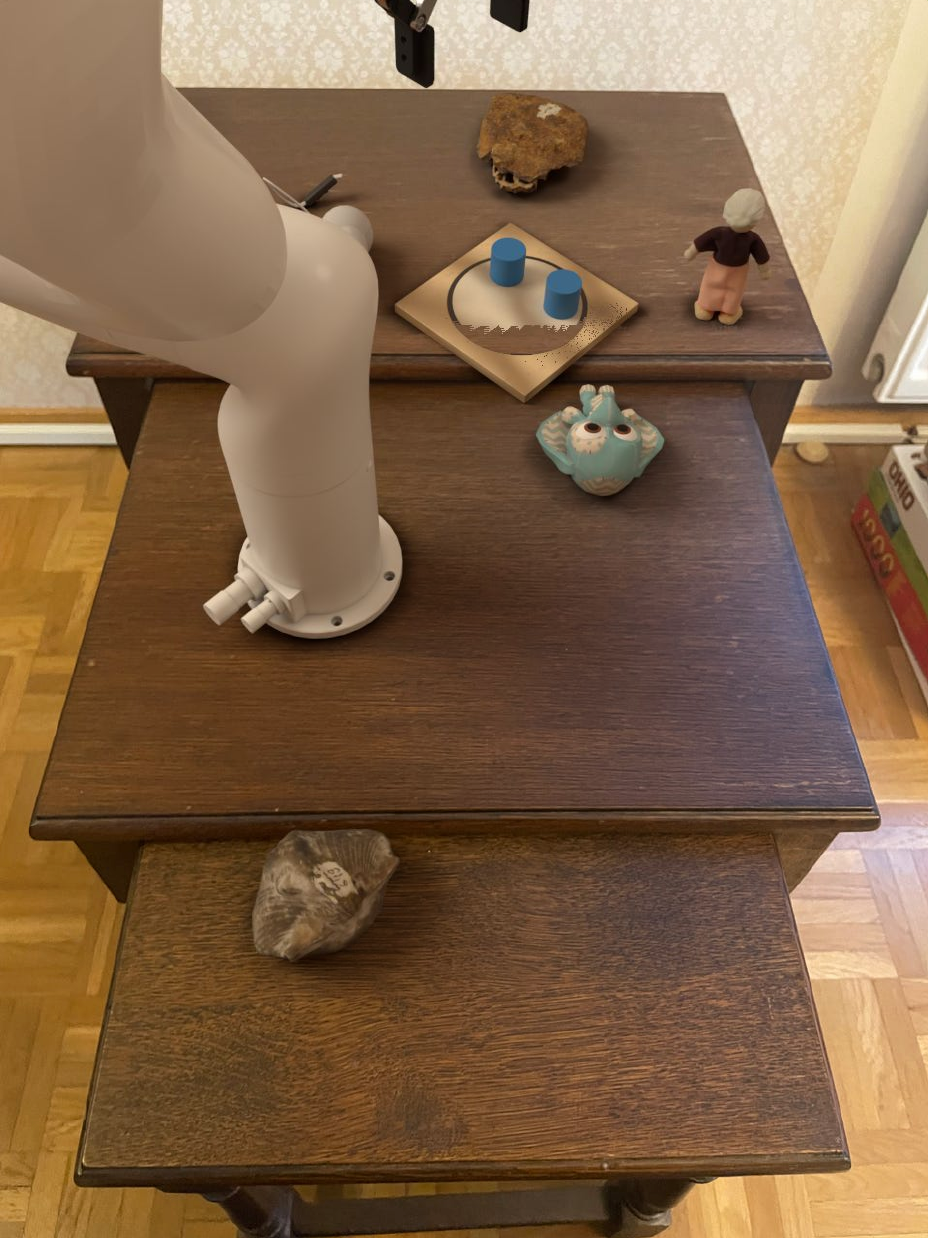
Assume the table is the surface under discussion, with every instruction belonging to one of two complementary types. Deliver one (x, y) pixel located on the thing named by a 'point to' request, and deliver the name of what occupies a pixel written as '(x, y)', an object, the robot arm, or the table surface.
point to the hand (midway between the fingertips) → (462, 50)
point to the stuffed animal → (599, 442)
